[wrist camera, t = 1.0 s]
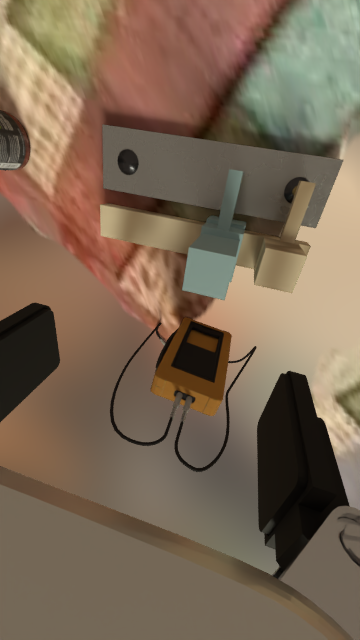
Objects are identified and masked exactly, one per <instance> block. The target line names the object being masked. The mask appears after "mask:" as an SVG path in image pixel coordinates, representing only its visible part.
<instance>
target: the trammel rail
mask: <svg viewBox="0 0 360 640" xmlns="http://www.w3.org/2000/svg"><path fill="white" fill-rule="evenodd" d="M315 185H316V183H311V182H305V181H299V183H298V185H297V186H295V187H294V188H293V190H292V194H293V195H294V198H293V201H292V204H291V207H290V210H289V213H288V216H287V219H286V221H285V224H284V227H283V230H282V233H281V236H280V237H278V236H273V235H267V234H262V233H257V232H252V231H247V230H245V231H244V235H243V239H242V243H241V247H240V250H239V254H238V258H237V262H236V265H237V266H242V267H247V268H251V269H254V285H258V286H263V287H267V288H271V289H276V290H280V291H284V292H289V293H292V292H293V290H294V287H295V285H296V282H297V280H298V278H299V275H300V273H301V270H302V268H303V265H304V263H305V260H306V258H307V254H308V252H309V249H310V245H309V244H308V243H307V242H302V241H298V240H295V239H296V236H297V234H298V231H299V228H300V226H301V223H302V220H303V218H304V215H305V212H306V210H307V207H308V204H309V201H310V199H311V196H312V193H313V191H314V188H315ZM100 218H101V236H104V237H109V238H114V239H118V240H123V241H127V242H132V243H137V244H141V245H146V246H150V247H155V248H159V249H164V250H169V251H173V252H178V253H182V254H187V255H188V250H189V247H190V246H191V245H192V244H193V243H194V242H195V241H196V239H197V238H198V237H199V236H200V234H201V228H202V226H203V225H204V224H205V223H206V222H201V221H196V220H191V219H186V218H181V217H176V216H171V215H166V214H161V213H155V212H150V211H145V210H140V209H135V208H130V207H125V206H120V205H115V204H110V203H107V204H101V205H100Z"/></svg>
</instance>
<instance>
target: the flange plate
mask: <svg viewBox="0 0 360 640" xmlns="http://www.w3.org/2000/svg"><path fill="white" fill-rule="evenodd" d="M342 162H343V160H340V159H334V158H327V157H320V156H313V155H306V154H300V153H293V152H286V151H279V150H272V149H266V148H259V147H252V146H245V145H238V144H232V143H225V142H218V141H211V140H204V139H198V138H191V137H184V136H177V135H170V134H164V133H157V132H150V131H143V130H136V129H130V128H123V127H116V126H109V125H103V188H104V189H110V190H115V191H120V192H126V193H131V194H136V195H142V196H147V197H152V198H158V199H163V200H168V201H174V202H179V203H184V204H190V205H195V206H200V207H206V208H211V209H216V210H221V206H222V202H223V197H224V192H225V187H226V182H227V178H228V173H229V169H231V170H237V171H243V176H242V182H241V185H240V189H239V193H238V198H237V202H236V206H235V210H234V213H238V214H243V215H248V216H253V217H259V218H264V219H269V220H275V221H280V222H285V221H286V219H287V216H288V213H289V210H290V207H291V204H292V201H293V198H294V195H293V194H292V190H293V188H294V187H295V186H297V185H298V183H299V181H305V182H311V183H316V185H315V188H314V191H313V193H312V196H311V199H310V201H309V204H308V207H307V210H306V212H305V215H304V218H303V220H302V223H301V225H302V226H307V227H313V228H316V227H317V224H318V222H319V219H320V217H321V214H322V212H323V209H324V207H325V204H326V202H327V199H328V197H329V195H330V192H331V190H332V187H333V185H334V182H335V180H336V177H337V175H338V172H339V170H340V167H341V165H342Z"/></svg>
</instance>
